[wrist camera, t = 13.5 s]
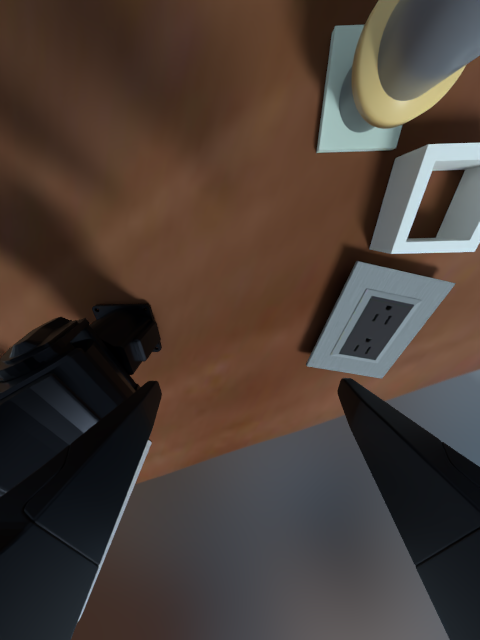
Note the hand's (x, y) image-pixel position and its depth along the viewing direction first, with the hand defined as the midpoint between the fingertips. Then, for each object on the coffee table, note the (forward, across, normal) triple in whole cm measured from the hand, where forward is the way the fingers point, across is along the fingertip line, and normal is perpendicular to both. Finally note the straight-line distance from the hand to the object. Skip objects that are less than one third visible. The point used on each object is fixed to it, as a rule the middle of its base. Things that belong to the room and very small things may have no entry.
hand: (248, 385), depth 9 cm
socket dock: (+13, -16, -8) cm, 22 cm away
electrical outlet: (+14, -14, +4) cm, 20 cm away
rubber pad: (+13, -9, -15) cm, 22 cm away
